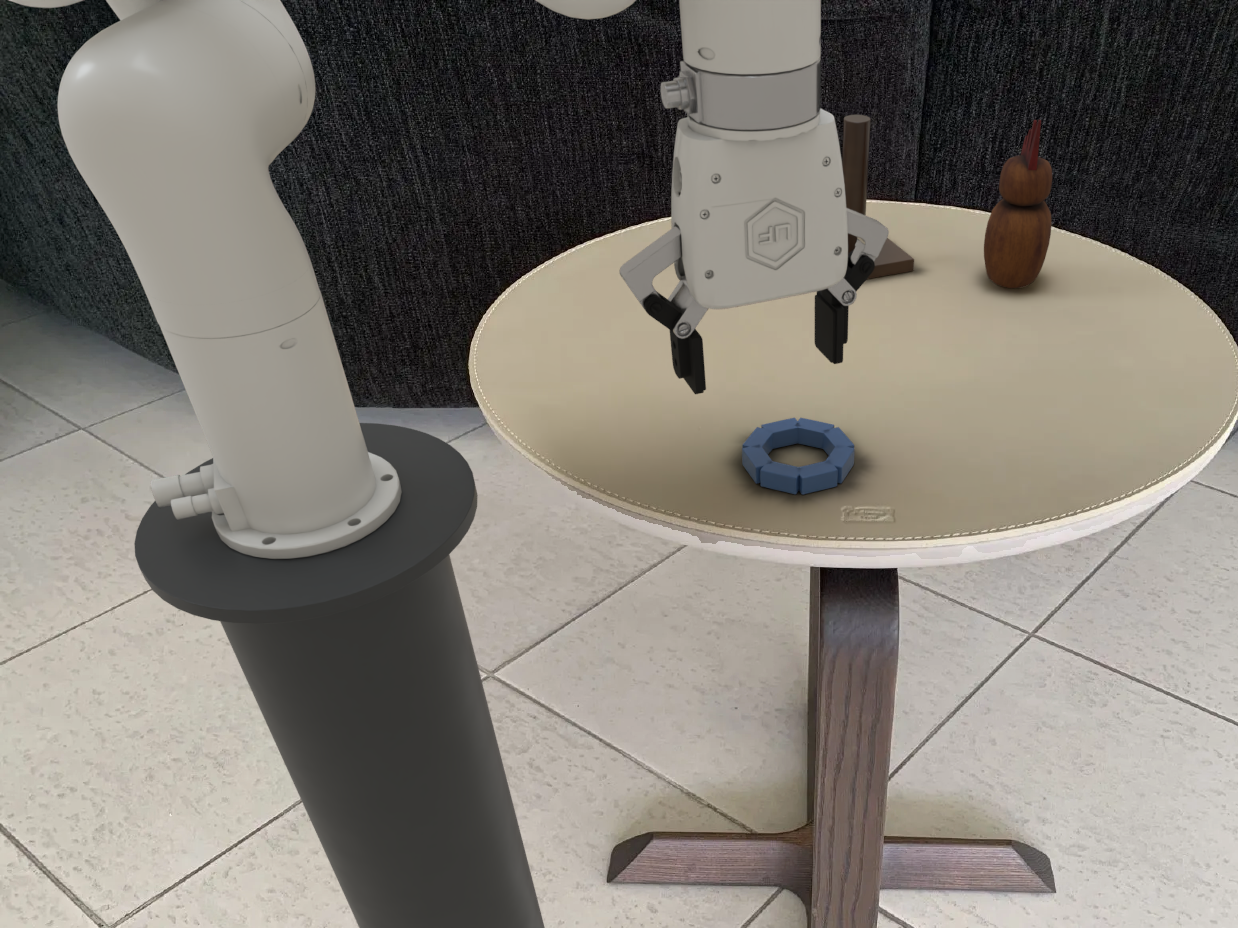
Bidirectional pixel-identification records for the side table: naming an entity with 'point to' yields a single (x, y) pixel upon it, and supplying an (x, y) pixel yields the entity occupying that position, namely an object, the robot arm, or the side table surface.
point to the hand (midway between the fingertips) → (762, 369)
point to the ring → (792, 476)
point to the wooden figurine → (1020, 218)
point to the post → (856, 193)
